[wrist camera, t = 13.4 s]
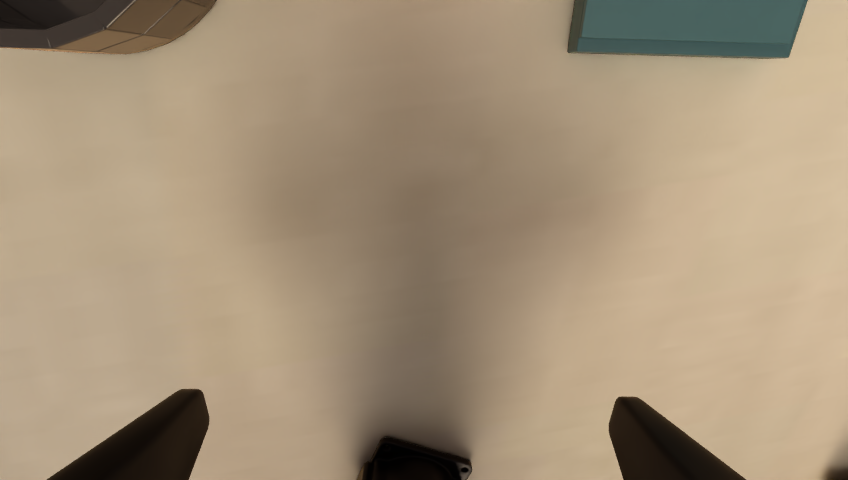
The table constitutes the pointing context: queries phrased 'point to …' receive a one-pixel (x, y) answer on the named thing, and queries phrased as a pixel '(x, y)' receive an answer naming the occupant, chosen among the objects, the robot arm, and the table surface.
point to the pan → (97, 24)
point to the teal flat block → (686, 27)
